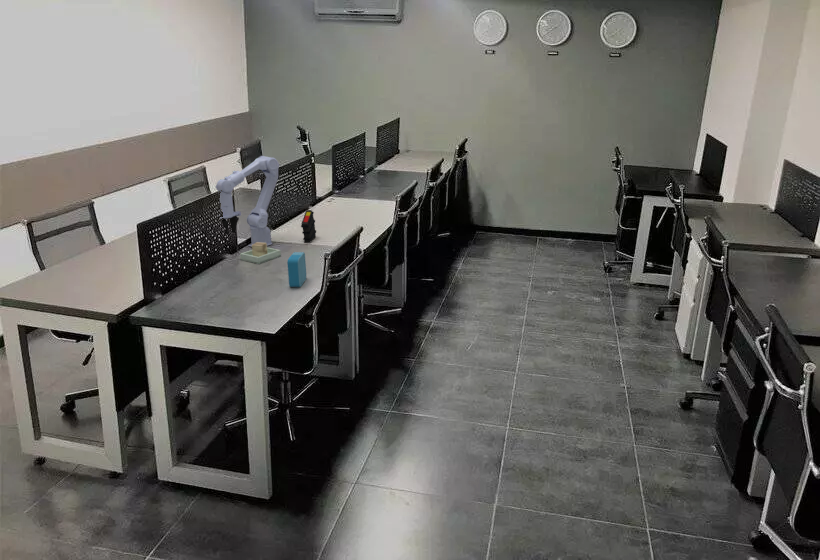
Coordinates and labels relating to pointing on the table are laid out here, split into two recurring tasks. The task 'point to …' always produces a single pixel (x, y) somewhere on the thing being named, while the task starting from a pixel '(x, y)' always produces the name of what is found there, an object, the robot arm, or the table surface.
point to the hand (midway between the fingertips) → (229, 233)
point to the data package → (296, 269)
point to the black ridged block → (308, 226)
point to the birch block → (259, 249)
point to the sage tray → (258, 260)
